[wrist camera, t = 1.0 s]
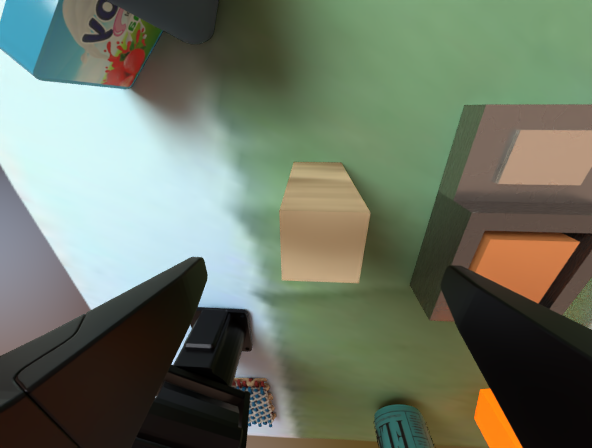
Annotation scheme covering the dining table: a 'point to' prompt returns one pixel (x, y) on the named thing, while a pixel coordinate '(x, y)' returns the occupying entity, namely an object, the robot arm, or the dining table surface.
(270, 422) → the woven mat
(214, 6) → the vaping device
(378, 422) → the beverage bottle
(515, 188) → the box
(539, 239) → the button
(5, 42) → the yogurt
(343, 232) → the tan wooden block
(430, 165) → the dining table surface
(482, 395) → the orange juice
